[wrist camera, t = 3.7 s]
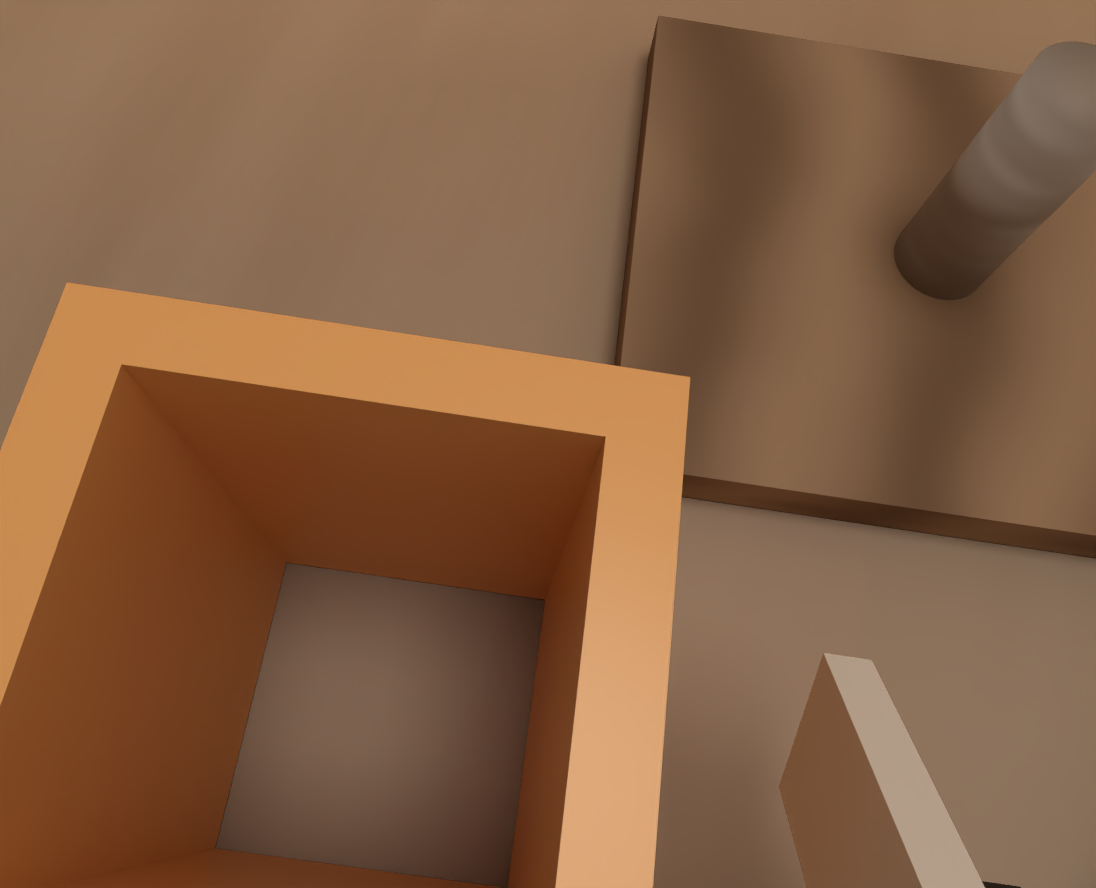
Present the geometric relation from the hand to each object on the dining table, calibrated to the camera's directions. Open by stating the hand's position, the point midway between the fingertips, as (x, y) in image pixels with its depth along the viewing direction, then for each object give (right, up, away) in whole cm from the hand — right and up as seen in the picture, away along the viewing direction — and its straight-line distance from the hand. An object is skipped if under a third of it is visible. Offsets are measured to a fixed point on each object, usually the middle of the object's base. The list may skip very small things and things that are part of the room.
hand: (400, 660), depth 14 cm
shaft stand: (+12, +8, +10) cm, 18 cm away
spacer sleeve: (-1, -2, +5) cm, 6 cm away
